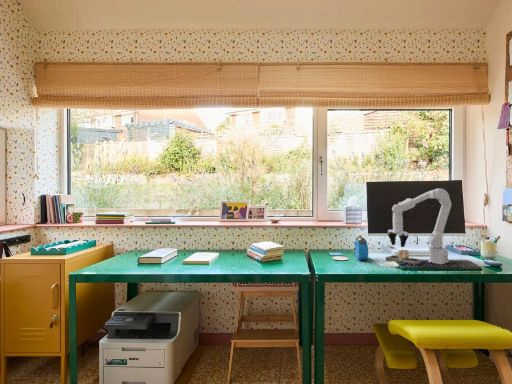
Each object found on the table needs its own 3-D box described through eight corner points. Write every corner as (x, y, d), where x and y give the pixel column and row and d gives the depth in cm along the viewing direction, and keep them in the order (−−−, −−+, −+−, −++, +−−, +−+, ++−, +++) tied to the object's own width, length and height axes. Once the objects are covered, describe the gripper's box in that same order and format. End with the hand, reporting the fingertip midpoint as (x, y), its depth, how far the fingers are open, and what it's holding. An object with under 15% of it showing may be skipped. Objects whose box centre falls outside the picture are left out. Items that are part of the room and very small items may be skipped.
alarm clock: (369, 261, 222) (367, 238, 222) (359, 262, 222) (357, 238, 222) (364, 257, 235) (363, 235, 235) (354, 257, 235) (353, 235, 235)
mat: (406, 264, 211) (406, 263, 211) (396, 266, 206) (396, 266, 206) (392, 261, 218) (392, 261, 218) (383, 264, 214) (383, 263, 214)
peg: (408, 261, 217) (408, 250, 216) (404, 262, 214) (404, 251, 214) (402, 260, 220) (402, 249, 220) (399, 261, 218) (398, 250, 218)
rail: (422, 263, 211) (422, 259, 211) (415, 265, 207) (414, 262, 207) (393, 258, 228) (393, 255, 228) (385, 260, 223) (385, 257, 223)
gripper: (384, 223, 222) (384, 244, 223) (401, 225, 209) (402, 248, 210) (392, 222, 225) (393, 243, 226) (410, 224, 212) (411, 247, 212)
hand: (398, 245), depth 218 cm, fingers open, 7 cm apart
